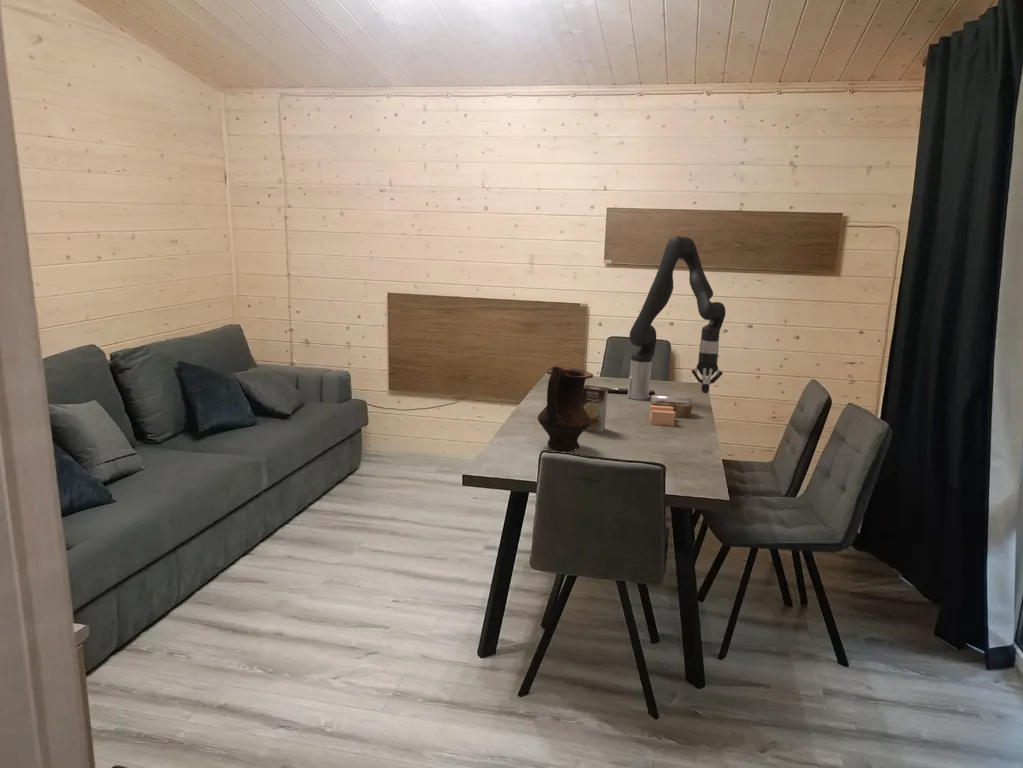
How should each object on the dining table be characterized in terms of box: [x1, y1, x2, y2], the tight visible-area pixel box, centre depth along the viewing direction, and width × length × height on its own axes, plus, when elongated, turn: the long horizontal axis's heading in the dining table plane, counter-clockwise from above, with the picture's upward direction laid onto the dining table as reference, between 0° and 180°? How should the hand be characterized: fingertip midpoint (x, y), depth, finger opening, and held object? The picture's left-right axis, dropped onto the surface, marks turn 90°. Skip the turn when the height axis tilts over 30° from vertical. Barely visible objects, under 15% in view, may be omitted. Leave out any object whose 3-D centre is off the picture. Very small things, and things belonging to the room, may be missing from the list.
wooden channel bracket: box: [649, 402, 693, 419], centre depth 302 cm, size 16×9×5 cm, turn 83°
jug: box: [537, 364, 594, 452], centre depth 247 cm, size 21×18×30 cm
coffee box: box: [581, 384, 609, 433], centre depth 274 cm, size 9×6×16 cm
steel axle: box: [650, 394, 692, 405], centre depth 302 cm, size 16×4×4 cm, turn 83°
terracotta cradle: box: [648, 404, 676, 427], centre depth 290 cm, size 9×11×5 cm
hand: (704, 392), depth 299 cm, fingers closed
